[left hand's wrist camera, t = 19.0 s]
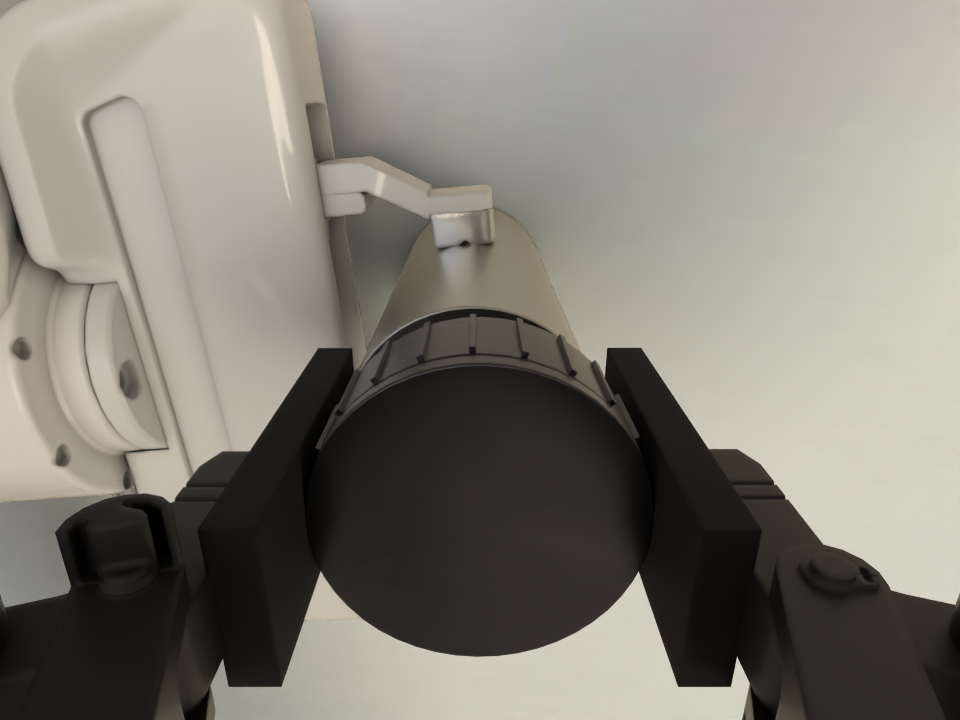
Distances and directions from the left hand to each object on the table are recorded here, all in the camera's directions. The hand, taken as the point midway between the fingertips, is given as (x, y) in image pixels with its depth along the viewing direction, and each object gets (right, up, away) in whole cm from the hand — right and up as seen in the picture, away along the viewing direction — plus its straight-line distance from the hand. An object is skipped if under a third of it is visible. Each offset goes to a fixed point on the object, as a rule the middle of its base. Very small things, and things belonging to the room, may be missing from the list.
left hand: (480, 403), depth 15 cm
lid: (0, -2, -4) cm, 4 cm away
